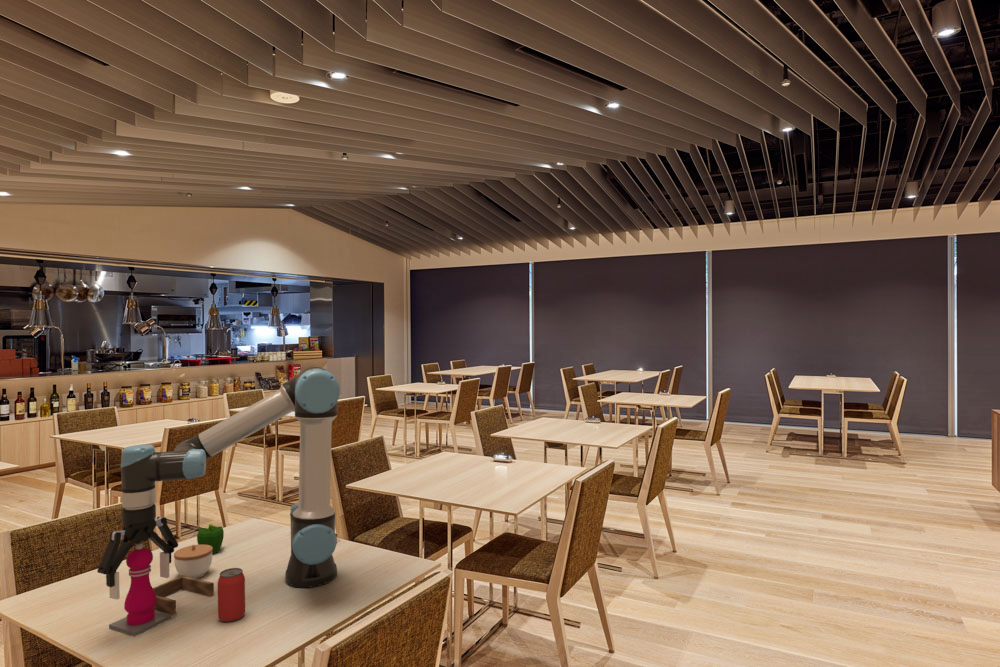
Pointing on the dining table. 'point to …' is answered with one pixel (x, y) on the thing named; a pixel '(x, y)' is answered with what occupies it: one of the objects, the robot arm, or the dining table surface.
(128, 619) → the pepper mill
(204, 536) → the bell pepper
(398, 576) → the dining table surface
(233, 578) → the beer can
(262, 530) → the dining table surface
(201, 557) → the lidded jar
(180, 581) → the u-shaped frame
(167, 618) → the coaster
